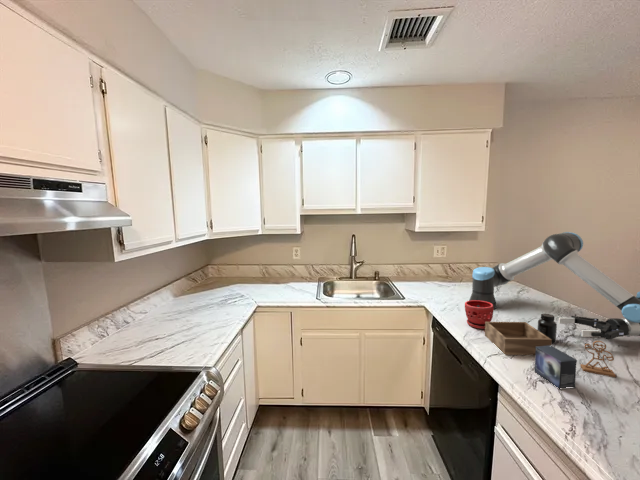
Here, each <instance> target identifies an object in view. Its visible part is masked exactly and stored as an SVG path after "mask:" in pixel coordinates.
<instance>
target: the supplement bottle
mask: <svg viewBox="0 0 640 480" xmlns="http://www.w3.org/2000/svg"><path fill="white" fill-rule="evenodd" d="M557 327H558V324H557V322H556V321H555V315H553V314H551V313H541V314H540V318H539V319H538V321H537V330H538V331H540V332H541V333H543V334H544V335H546V336H547V337H549V338H550V339H552V344H554V343H556V342H557Z"/></svg>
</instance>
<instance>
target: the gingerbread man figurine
mask: <svg viewBox="0 0 640 480" xmlns="http://www.w3.org/2000/svg"><path fill="white" fill-rule="evenodd" d="M599 343H600V344H599ZM603 344H604V345H603ZM592 347H593V348H592ZM584 349H585V351H586V352H588V353H589V354H592V358H591V359H590V360H589V361H588V362H587V363H586V364H583V363H580V366H579V367H580V368H581V370H582V371H583V372H584V371H585V372H586V373H591V374H596V375H599V376H606V377H610V378H611V377H612V378H616V377H617V375H616V374H615V372H614V371H613V369H610V368H609V366H608V364H607V363H606V362H605V358H606V360H608V362H613V361H614V359H615V357H614V355H613V354H612V353H611V352H610V351H607V345H606V343H605V342H604V341H602V340H595V341H593V342H592V345H591V344H590V343H585V344H584ZM588 349H592V351H593V350H594V351H595V353H597V356H596V357H595V353H594V352H591V351H589V350H588ZM603 352H604V353H608V354H610V355H609V356H607V355H605V354H603ZM600 353H601V354H603V355H602V358H601V357H600V355H601V354H600ZM594 360H597V361H596V362H595V363H594V364H591V363H592V362H593V361H594ZM599 361H603V362H604V364H605V366H601V364H600V362H599ZM597 365H599V367H598V366H597Z"/></svg>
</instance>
